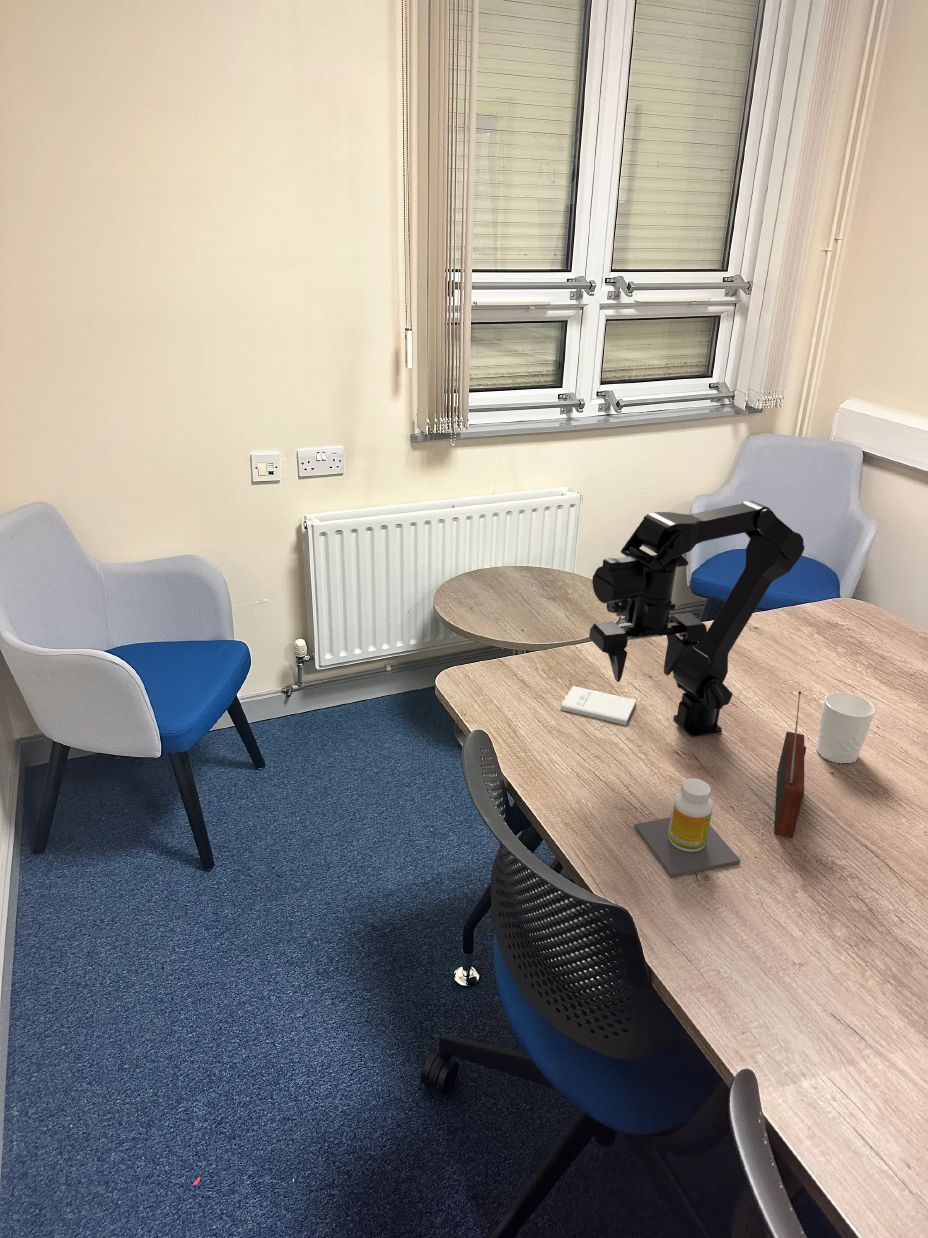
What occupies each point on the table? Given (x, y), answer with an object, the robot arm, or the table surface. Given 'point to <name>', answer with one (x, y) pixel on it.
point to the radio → (790, 783)
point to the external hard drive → (599, 705)
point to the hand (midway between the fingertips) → (641, 677)
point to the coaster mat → (683, 861)
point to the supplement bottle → (691, 816)
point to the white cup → (843, 726)
